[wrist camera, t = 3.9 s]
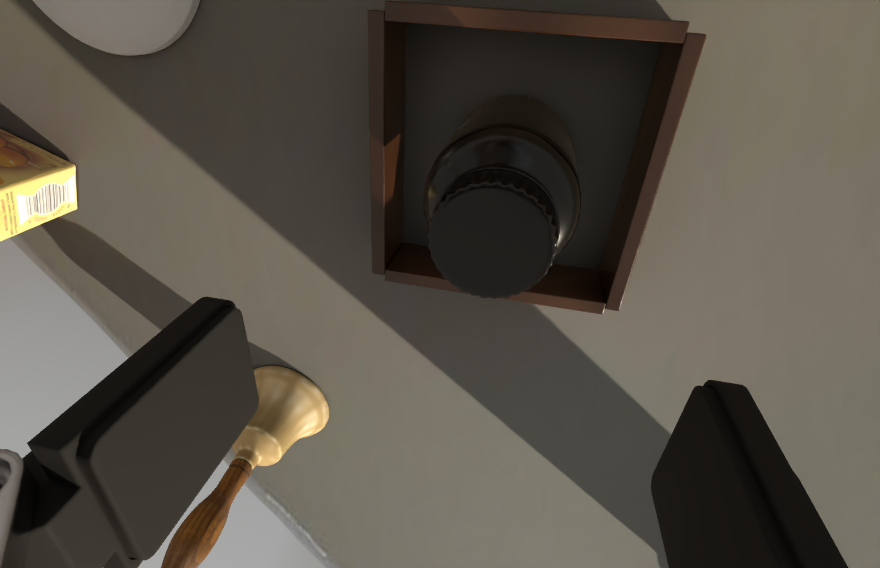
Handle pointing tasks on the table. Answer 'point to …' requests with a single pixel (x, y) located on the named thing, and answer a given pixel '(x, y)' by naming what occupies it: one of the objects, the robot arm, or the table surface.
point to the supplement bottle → (502, 198)
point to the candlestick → (122, 22)
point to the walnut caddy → (641, 177)
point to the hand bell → (252, 456)
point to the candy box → (32, 186)
